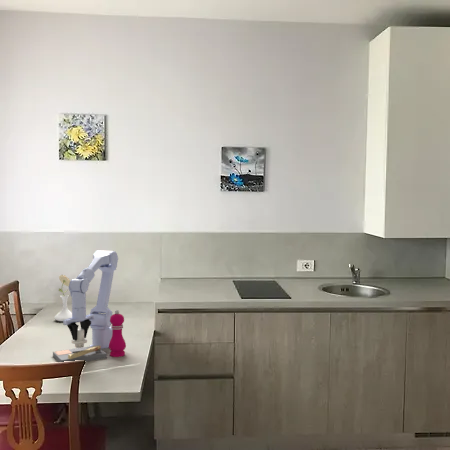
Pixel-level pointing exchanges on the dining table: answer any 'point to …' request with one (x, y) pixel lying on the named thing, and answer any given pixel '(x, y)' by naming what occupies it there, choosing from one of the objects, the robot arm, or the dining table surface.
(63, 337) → the dining table surface
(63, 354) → the socket block
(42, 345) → the dining table surface
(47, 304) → the dining table surface
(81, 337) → the plug
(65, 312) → the flower in vase
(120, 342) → the pepper mill
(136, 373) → the dining table surface
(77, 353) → the bar
